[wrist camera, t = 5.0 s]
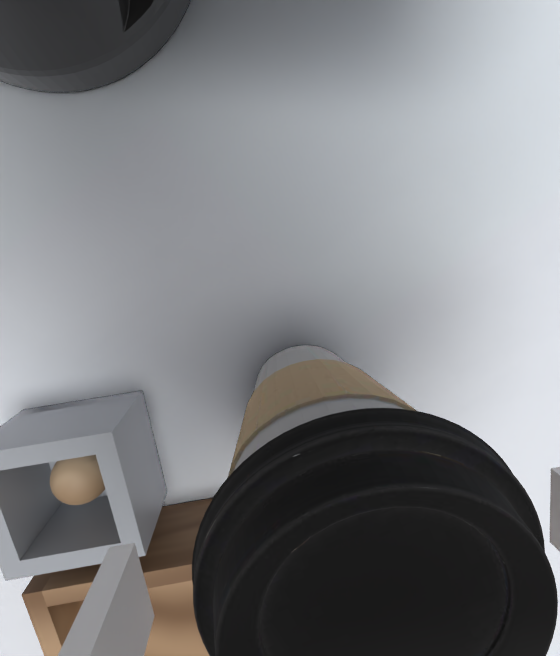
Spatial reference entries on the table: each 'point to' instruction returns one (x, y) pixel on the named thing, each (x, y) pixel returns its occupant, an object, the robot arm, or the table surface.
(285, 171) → the table surface
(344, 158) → the table surface
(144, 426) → the grey tub
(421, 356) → the table surface
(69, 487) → the cork ball
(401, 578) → the coffee cup
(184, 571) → the walnut box
